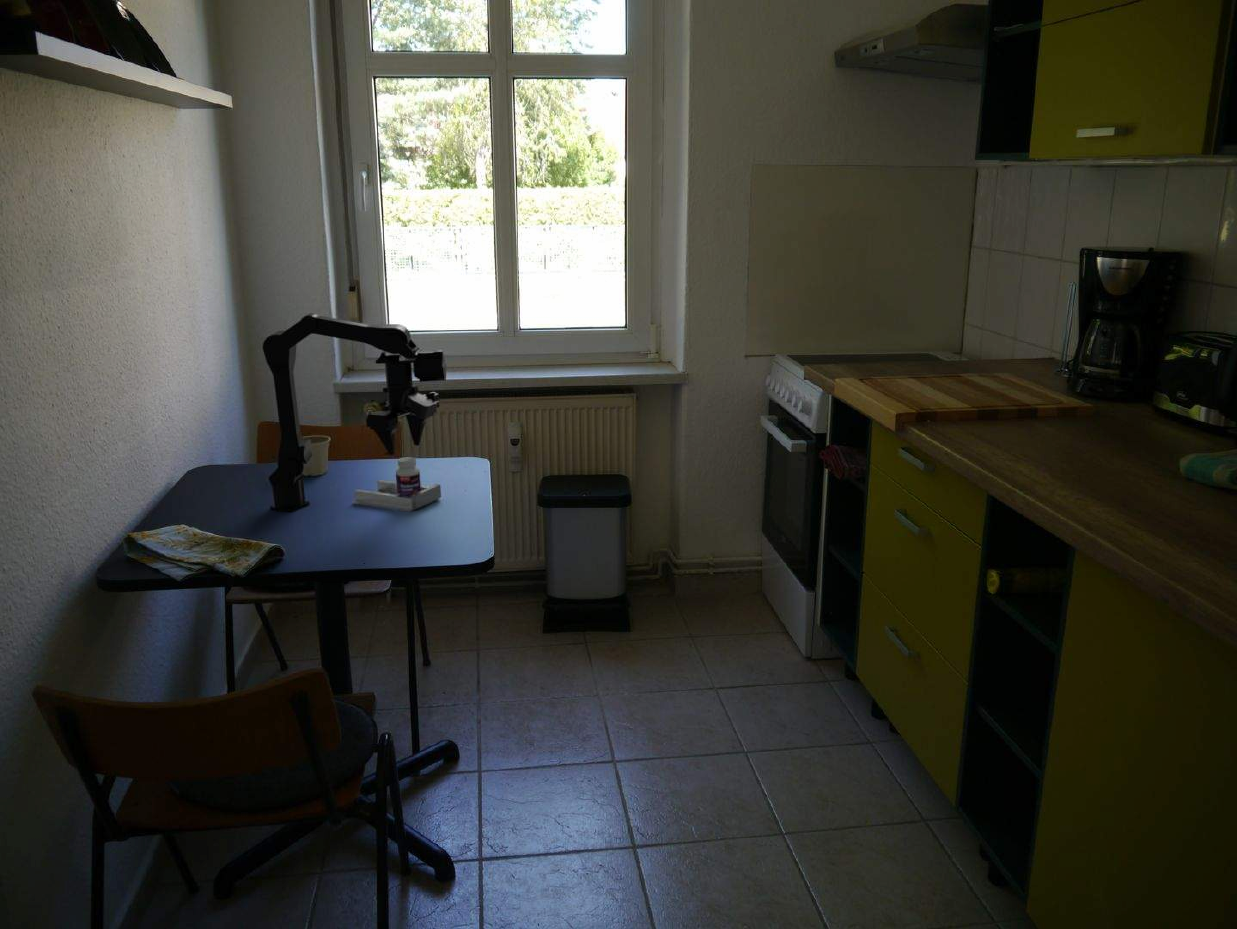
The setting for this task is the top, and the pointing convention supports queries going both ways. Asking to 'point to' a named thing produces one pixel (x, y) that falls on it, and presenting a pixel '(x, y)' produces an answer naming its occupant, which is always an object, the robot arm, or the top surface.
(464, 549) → the top surface
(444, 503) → the top surface
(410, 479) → the pill bottle
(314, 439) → the flower pot
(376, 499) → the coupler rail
